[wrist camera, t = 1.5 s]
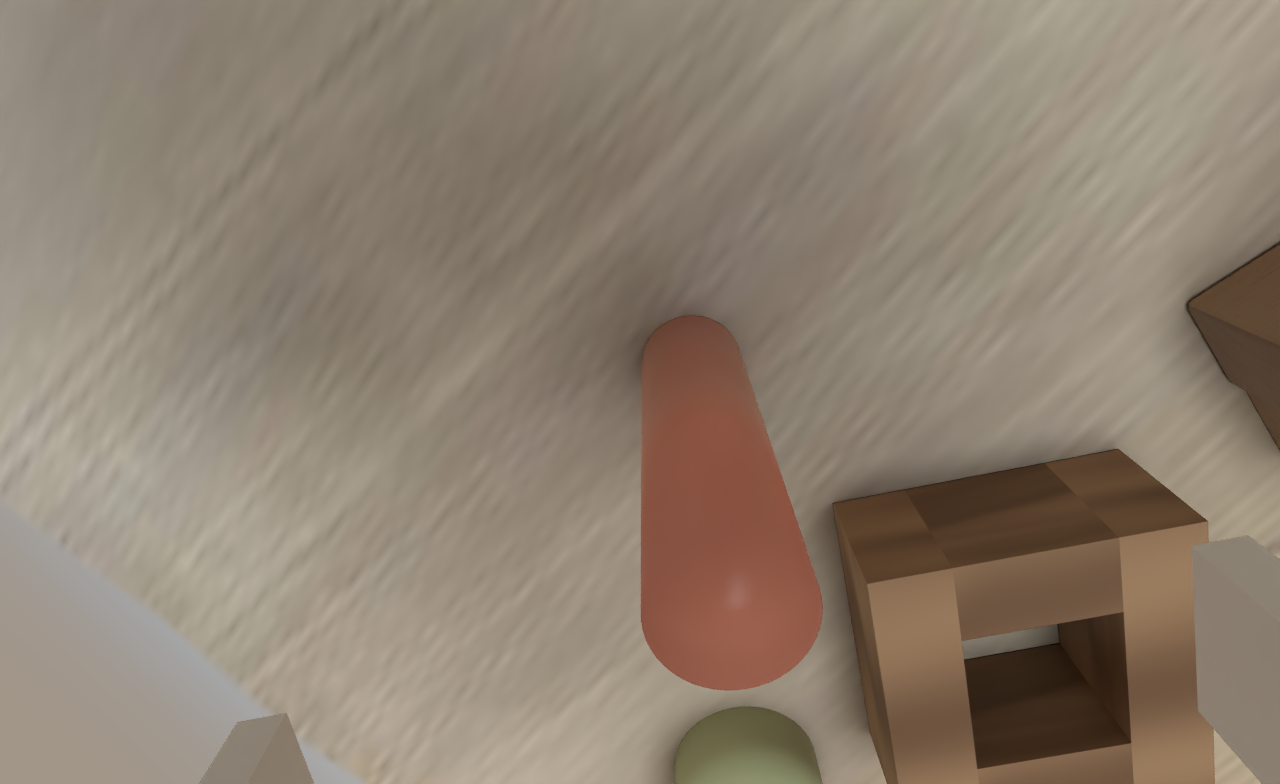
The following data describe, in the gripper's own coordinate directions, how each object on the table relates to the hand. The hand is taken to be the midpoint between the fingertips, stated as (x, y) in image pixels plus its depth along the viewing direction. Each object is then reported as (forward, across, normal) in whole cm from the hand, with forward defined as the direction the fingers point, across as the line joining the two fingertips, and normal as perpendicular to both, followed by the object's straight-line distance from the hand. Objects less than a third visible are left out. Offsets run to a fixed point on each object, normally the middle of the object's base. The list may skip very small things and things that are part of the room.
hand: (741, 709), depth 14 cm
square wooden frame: (+16, +8, -10) cm, 21 cm away
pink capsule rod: (+16, 0, 0) cm, 16 cm away
